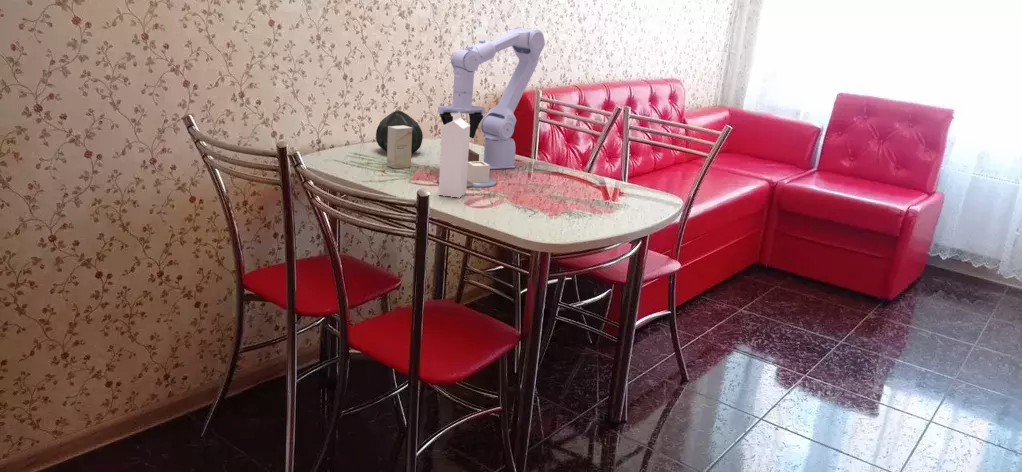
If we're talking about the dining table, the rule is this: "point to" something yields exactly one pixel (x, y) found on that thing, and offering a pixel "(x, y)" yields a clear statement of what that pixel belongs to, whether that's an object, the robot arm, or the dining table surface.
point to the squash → (398, 120)
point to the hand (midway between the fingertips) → (459, 137)
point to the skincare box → (399, 146)
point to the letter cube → (478, 172)
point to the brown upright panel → (473, 156)
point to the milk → (454, 157)
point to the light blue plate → (484, 183)
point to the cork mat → (467, 184)
